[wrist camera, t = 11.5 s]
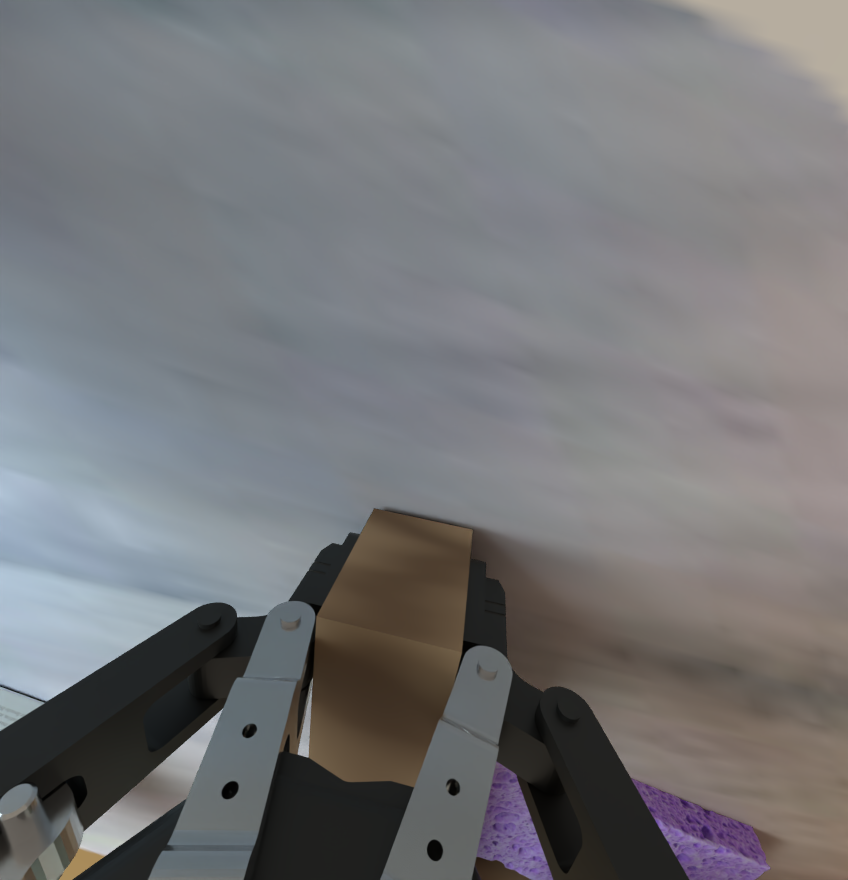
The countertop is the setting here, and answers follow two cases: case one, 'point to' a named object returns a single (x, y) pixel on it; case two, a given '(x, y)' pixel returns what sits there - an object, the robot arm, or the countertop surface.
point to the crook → (391, 653)
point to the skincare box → (14, 706)
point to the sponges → (682, 823)
